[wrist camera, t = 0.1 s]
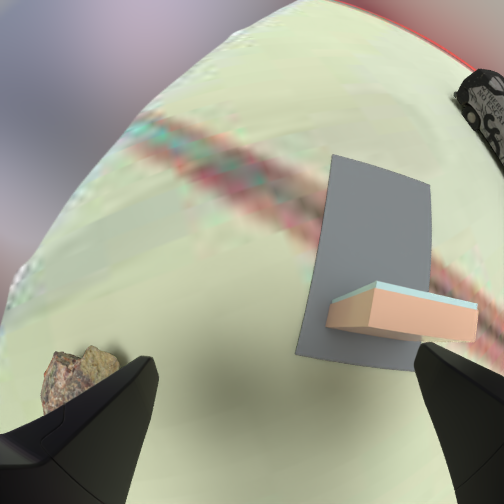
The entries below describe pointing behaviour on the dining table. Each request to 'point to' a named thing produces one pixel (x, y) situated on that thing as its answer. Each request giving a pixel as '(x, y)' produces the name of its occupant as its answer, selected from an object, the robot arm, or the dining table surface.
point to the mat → (367, 258)
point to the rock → (74, 376)
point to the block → (403, 314)
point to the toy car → (485, 106)
